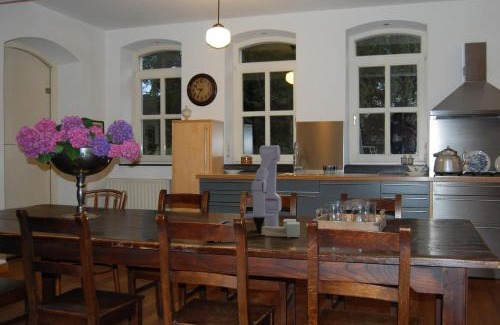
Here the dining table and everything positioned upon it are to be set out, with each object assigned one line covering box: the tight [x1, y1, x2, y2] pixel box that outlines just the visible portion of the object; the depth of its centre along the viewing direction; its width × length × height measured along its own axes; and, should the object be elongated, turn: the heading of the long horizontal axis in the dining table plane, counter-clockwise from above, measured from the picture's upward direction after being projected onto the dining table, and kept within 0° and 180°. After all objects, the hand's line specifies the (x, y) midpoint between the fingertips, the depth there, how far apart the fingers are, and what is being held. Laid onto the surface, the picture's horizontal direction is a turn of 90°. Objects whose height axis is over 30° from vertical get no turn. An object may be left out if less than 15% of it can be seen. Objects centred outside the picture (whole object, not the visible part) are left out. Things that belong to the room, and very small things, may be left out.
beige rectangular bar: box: [261, 225, 287, 237], centre depth 235 cm, size 4×14×4 cm, turn 83°
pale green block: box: [282, 218, 297, 227], centre depth 243 cm, size 8×6×6 cm
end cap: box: [286, 221, 301, 238], centre depth 233 cm, size 8×6×6 cm
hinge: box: [217, 220, 234, 225], centre depth 223 cm, size 17×5×10 cm, turn 154°
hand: (259, 233), depth 235 cm, fingers closed
